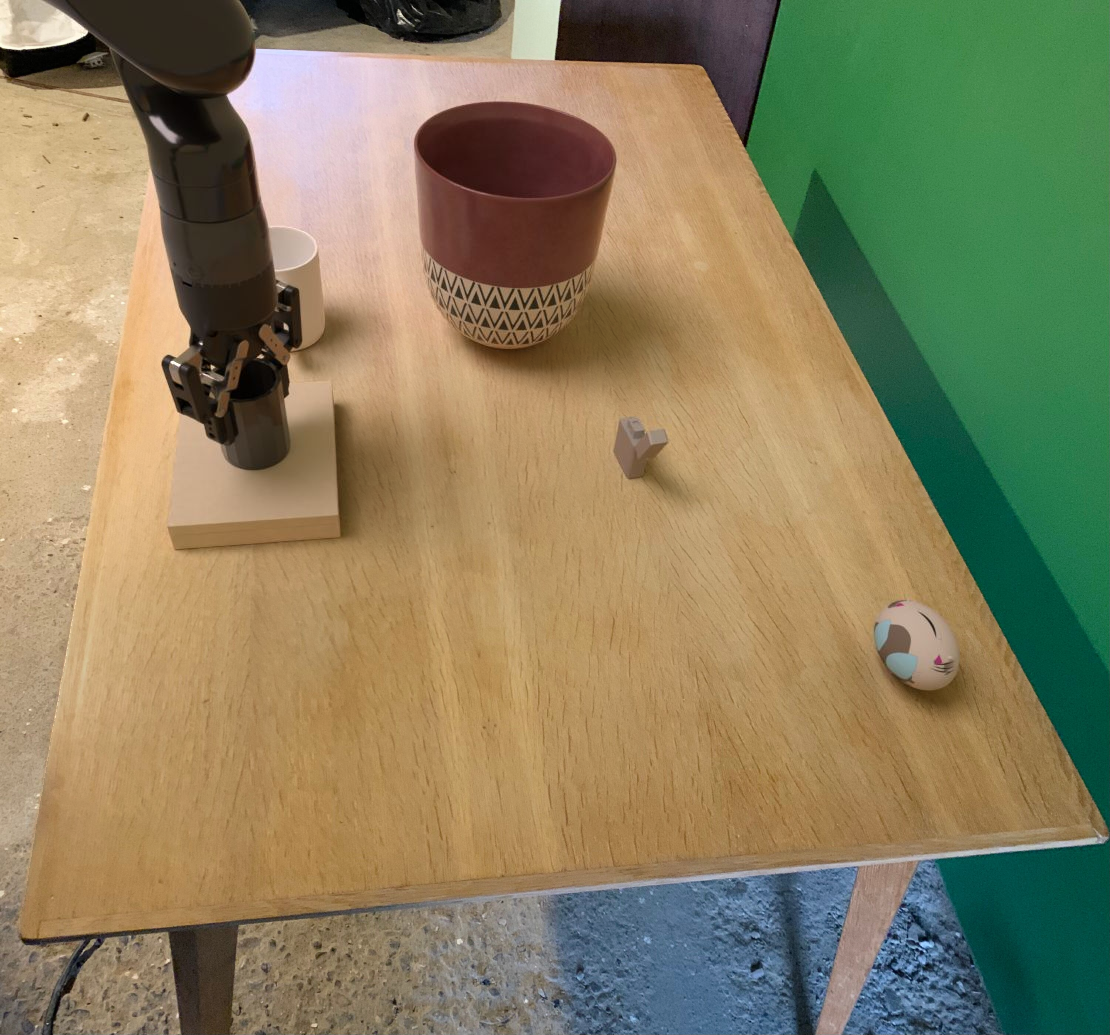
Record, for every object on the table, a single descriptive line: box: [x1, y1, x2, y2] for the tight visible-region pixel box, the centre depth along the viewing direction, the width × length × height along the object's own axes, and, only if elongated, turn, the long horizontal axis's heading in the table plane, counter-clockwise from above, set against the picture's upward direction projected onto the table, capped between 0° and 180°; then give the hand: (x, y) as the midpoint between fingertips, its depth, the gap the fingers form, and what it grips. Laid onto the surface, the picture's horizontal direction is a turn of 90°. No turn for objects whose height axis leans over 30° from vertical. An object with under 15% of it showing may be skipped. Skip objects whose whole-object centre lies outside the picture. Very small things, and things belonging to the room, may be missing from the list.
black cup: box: [209, 357, 291, 470], centre depth 83 cm, size 6×6×8 cm
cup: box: [268, 225, 326, 352], centre depth 98 cm, size 8×12×10 cm
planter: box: [413, 100, 618, 350], centre depth 99 cm, size 20×20×21 cm
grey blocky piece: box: [613, 415, 669, 480], centre depth 90 cm, size 7×2×8 cm, turn 18°
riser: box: [166, 380, 342, 550], centre depth 87 cm, size 18×14×3 cm
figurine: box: [873, 596, 961, 691], centre depth 78 cm, size 8×6×7 cm
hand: (250, 417), depth 84 cm, fingers open, 6 cm apart
